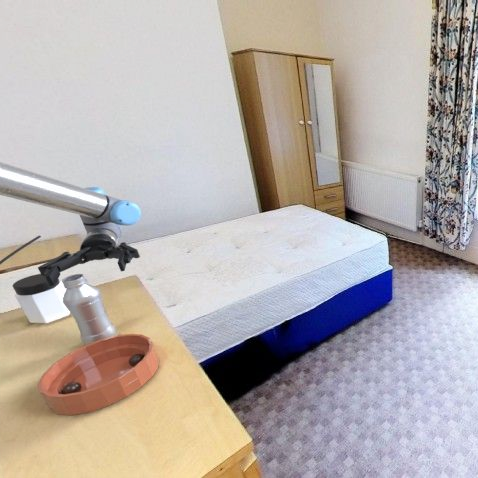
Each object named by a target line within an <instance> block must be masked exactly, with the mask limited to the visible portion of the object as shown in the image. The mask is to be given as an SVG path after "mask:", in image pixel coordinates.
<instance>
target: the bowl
mask: <svg viewBox="0 0 478 478" xmlns="http://www.w3.org/2000/svg"><path fill="white" fill-rule="evenodd" d="M135 354H143V355H144V356H145V357H144V358H143V360H142V361H140V362H139V363H138V364H137V365H136V366H135V367H132V366H130V365H129V359H130V358H131V357H132V356H133V355H135ZM159 365H160V357H159V355H158V352H157V350H156V346H155V345H154V342H153V341H152V339H151V337H149V336H147V335H144V334H141V333H127V334H126V333H125V334H119V335H117V336H113V337H109V338H105V339H101V340H99V341H96V342H93V343H91V344H88V345H85V346H84V345H83V346H81V347H79V348H77V349H75V350H73V351H71V352H70V353H68V354H66V355H65V356H63V357H61V358H60V359H59V360H57V361H55V362H54V363H53V364H52V365H51V366H50V367H48V369H46V370H45V372H44V373H43V374H42V375H41V376H40V379H39V381H38V383H37V386H38V391H39V393H40V395H41V396H42V398H43V400H44V401H45V403H46V404H47V406H48V408H49V410H51V411H53V413H56V414H57V415H64V416H76V415H82V414H88V413H92V412H95V411H98V410H100V409H103V408H106V407H109V406H111V405H113V404H115V403H117V402H119V401H121V400H123V399H125V398H127V397H128V396H130V395H132V394H133V393H135V392H136V391H137V390H139V389H141V388H142V387H143V386H145V384H146V383H147V382H148V381H150V379H152V377H154V375H155V373H156V371H158V368H159ZM70 382H79V383H80V384H81V385H82V389H81V391H80V392H77V393H71V394H61V389H62V388H63V386H64V385H66V384H67V383H70Z"/></svg>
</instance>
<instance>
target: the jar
mask: <svg viewBox="0 0 478 478" xmlns="http://www.w3.org/2000/svg"><path fill="white" fill-rule="evenodd" d="M12 288H13V290H14V291H15V293H16V294H15V295H14V297H15V299H16V300H17V302H18V304H19V306H20V307H21V309H22V311H23V312H24V314H25V316H26V318H27V320H28V321H29V323H31V324H50V323H51V322H55V321H58V320H60V319H63V318H65V317H68V316H69V315H70V314H71V313H70V311H69V310H68V309H67V308H66V306H65V305H64V303H63V296H64V294H65V292H66V290H67V288H64V284H63V282H62V280H60V279H59V278H58V280H57V281H56V283H55V285H52V286H50V285H49V283H48V281H47V279H46V277H45V276H42V275H41V273H37V274H33V275H29V276H25V277H23V278H20V279H18V280H16V281H15V282H14V283H13V284H12Z"/></svg>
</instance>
